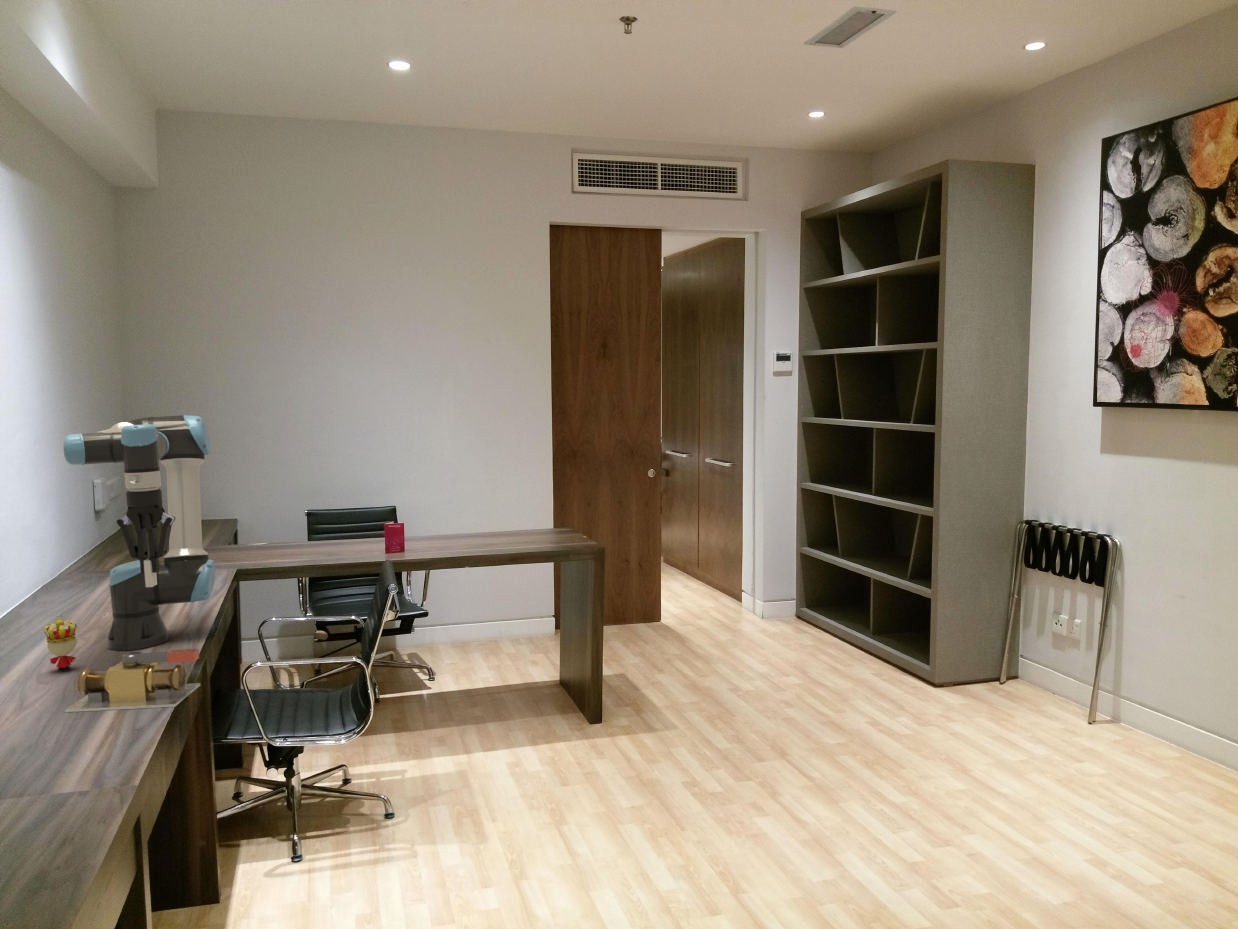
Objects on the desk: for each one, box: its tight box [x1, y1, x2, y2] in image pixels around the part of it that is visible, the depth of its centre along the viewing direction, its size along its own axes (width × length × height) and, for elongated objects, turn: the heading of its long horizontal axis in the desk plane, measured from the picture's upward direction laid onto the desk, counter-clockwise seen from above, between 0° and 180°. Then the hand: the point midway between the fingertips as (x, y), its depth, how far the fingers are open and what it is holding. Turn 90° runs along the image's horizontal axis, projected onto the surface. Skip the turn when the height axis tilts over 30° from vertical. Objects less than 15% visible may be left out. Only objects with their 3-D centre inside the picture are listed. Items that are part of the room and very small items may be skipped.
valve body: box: [64, 661, 201, 713], centre depth 205 cm, size 24×14×8 cm, turn 94°
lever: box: [121, 648, 200, 667], centre depth 205 cm, size 16×4×2 cm, turn 95°
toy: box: [43, 613, 78, 673], centre depth 226 cm, size 7×7×15 cm
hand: (151, 585), depth 213 cm, fingers closed
